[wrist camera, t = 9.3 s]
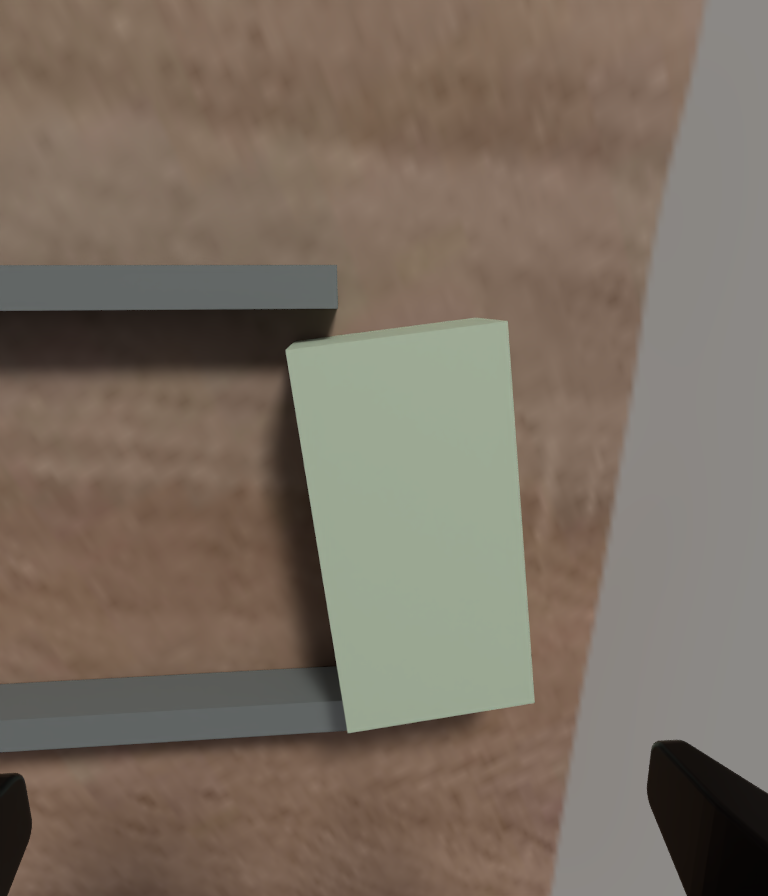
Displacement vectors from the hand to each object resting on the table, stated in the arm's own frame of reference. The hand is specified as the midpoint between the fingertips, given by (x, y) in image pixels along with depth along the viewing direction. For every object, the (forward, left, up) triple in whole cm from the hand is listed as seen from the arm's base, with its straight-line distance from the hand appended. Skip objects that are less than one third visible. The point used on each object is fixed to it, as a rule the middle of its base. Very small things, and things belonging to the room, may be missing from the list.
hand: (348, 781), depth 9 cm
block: (+2, 0, -13) cm, 13 cm away
